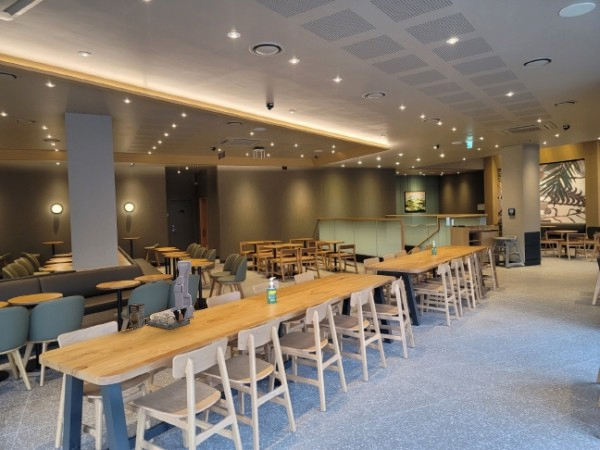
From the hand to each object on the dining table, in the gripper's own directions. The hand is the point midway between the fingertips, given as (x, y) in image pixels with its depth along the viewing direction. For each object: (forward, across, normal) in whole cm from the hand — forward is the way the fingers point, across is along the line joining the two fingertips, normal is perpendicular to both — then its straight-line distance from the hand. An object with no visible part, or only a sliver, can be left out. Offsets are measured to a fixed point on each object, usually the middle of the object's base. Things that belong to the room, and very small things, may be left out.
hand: (179, 319), depth 303 cm
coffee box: (+4, -20, +23) cm, 31 cm away
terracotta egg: (+1, 0, 0) cm, 1 cm away
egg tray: (+3, -4, +8) cm, 10 cm away
